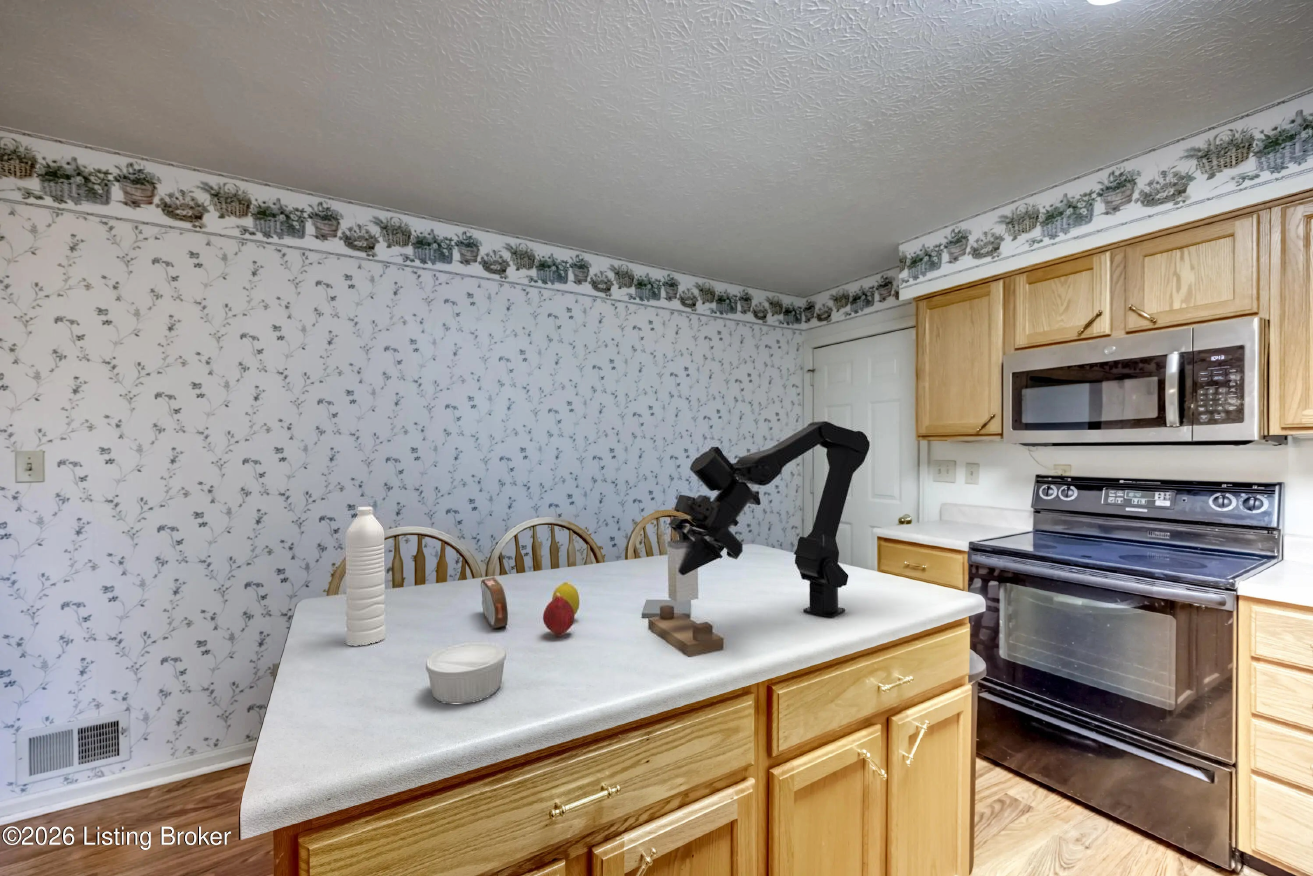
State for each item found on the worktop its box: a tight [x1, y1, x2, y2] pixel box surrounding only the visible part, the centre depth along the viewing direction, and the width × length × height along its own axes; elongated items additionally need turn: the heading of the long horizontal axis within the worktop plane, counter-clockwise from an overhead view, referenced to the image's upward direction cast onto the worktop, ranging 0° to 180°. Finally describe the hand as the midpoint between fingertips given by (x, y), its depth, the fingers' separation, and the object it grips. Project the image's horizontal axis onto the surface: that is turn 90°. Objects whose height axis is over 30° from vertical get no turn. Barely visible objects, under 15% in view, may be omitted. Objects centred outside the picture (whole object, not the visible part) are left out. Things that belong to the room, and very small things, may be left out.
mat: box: [641, 599, 692, 619], centre depth 119 cm, size 10×10×1 cm
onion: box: [542, 593, 576, 637], centre depth 105 cm, size 6×6×8 cm
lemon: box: [551, 581, 580, 615], centre depth 113 cm, size 6×6×8 cm
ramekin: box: [425, 641, 507, 704], centre depth 82 cm, size 11×11×5 cm
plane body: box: [647, 605, 725, 657], centre depth 102 cm, size 16×7×4 cm, turn 26°
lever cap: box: [667, 539, 699, 602], centre depth 102 cm, size 4×3×10 cm
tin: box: [480, 576, 509, 629], centre depth 114 cm, size 15×3×8 cm, turn 27°
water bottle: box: [344, 506, 386, 646], centre depth 103 cm, size 9×6×25 cm
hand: (676, 571), depth 102 cm, fingers closed on lever cap, 3 cm apart
